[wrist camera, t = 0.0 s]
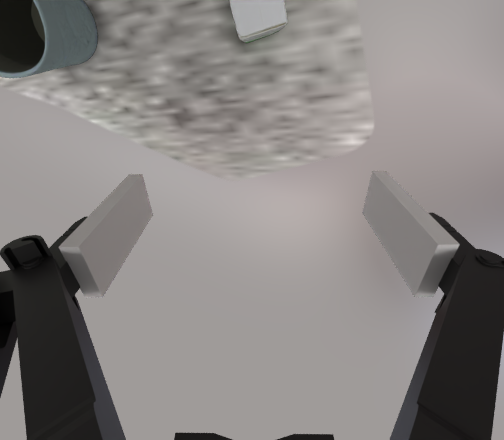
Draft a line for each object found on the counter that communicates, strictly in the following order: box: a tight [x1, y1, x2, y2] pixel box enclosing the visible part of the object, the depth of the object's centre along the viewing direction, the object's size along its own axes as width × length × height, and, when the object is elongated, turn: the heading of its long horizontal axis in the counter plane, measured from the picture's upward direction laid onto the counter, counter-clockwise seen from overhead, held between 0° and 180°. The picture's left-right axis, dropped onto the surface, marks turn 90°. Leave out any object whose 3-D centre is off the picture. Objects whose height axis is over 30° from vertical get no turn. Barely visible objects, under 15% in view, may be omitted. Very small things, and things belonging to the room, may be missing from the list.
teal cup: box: [0, 0, 98, 78], centre depth 30 cm, size 10×10×12 cm
